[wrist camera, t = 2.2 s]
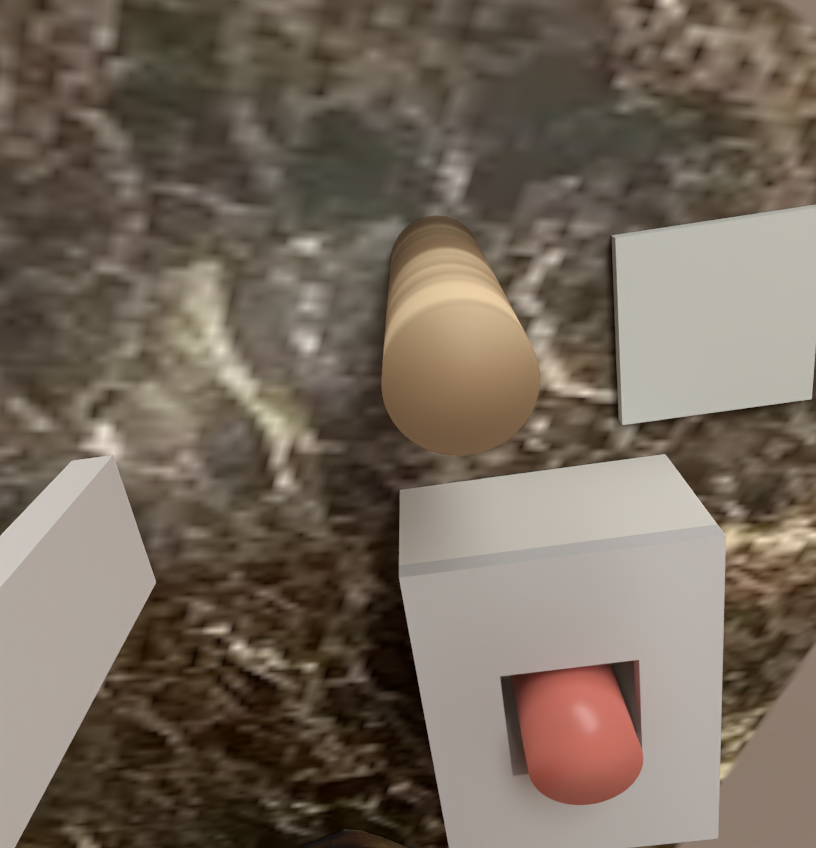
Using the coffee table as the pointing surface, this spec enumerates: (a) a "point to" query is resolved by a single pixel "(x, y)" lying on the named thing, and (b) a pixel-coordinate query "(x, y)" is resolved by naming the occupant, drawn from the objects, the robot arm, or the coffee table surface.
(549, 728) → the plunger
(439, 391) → the tan wooden rod
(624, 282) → the pad
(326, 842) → the ceramic jug
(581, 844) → the box
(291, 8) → the coffee table surface
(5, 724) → the robot arm
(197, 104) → the coffee table surface
